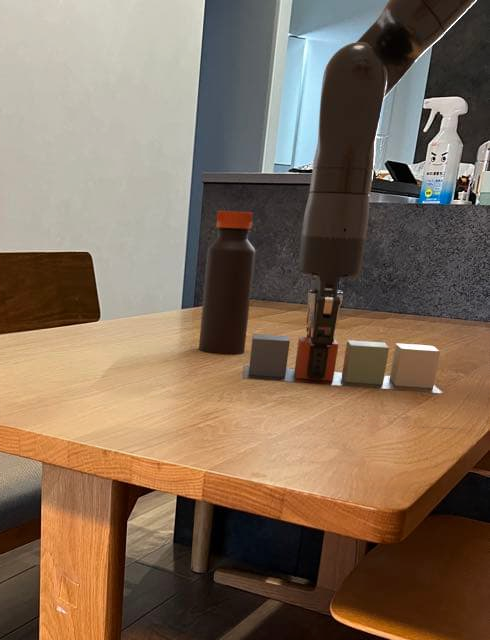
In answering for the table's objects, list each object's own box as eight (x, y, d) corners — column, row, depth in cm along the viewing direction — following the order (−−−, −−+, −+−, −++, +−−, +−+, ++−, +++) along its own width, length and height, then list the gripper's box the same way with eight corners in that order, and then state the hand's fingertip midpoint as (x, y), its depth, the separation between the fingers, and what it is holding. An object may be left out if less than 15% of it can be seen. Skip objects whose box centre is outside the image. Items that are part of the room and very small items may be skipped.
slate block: (284, 371, 113) (288, 336, 111) (285, 377, 109) (289, 340, 107) (248, 369, 114) (252, 333, 112) (248, 374, 110) (252, 338, 108)
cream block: (426, 382, 110) (433, 345, 109) (433, 388, 106) (440, 351, 104) (389, 379, 111) (395, 343, 109) (394, 385, 107) (401, 348, 105)
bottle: (207, 358, 124) (221, 211, 117) (192, 350, 130) (204, 210, 123) (251, 358, 126) (267, 213, 119) (233, 351, 132) (248, 212, 125)
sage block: (378, 378, 111) (384, 342, 109) (382, 384, 107) (389, 347, 105) (341, 375, 112) (347, 340, 110) (345, 382, 108) (350, 345, 106)
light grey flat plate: (427, 383, 113) (428, 378, 113) (442, 398, 104) (443, 393, 103) (243, 369, 117) (243, 365, 116) (242, 382, 107) (242, 378, 107)
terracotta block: (330, 374, 112) (335, 339, 110) (333, 381, 108) (338, 344, 106) (294, 372, 113) (298, 336, 111) (295, 378, 109) (300, 341, 107)
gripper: (372, 236, 97) (349, 387, 103) (359, 234, 110) (339, 367, 116) (305, 233, 98) (285, 382, 104) (299, 231, 111) (282, 363, 117)
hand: (314, 373), depth 110 cm, fingers closed on terracotta block, 4 cm apart
